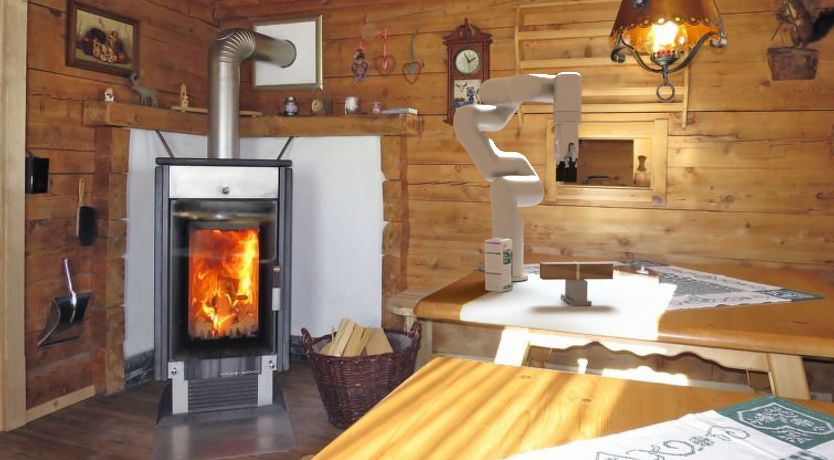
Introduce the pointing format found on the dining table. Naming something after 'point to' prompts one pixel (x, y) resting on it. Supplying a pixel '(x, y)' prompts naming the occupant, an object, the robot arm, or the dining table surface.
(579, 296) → the ridge block
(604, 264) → the beam
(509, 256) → the syrup box
